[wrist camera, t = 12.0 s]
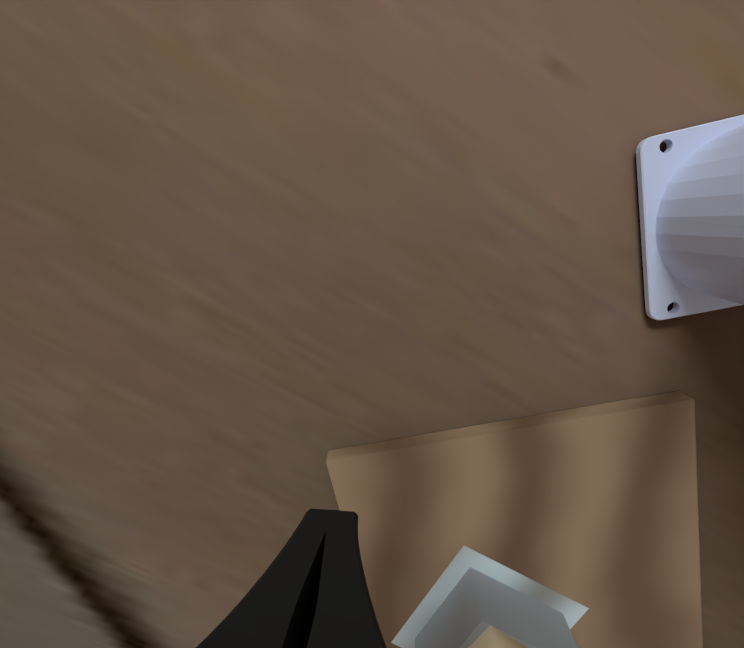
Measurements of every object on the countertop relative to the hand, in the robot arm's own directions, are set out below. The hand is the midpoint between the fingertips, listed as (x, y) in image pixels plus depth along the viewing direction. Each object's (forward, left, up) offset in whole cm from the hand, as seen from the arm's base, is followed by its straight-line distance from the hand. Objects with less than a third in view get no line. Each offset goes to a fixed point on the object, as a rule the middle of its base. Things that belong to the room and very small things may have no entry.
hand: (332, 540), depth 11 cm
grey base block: (-4, +15, -9) cm, 18 cm away
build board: (-7, +12, -10) cm, 17 cm away
